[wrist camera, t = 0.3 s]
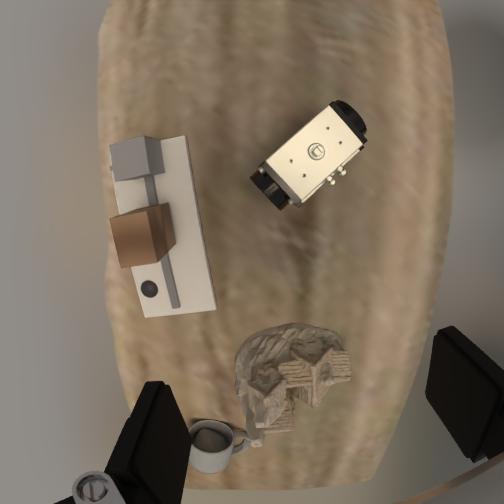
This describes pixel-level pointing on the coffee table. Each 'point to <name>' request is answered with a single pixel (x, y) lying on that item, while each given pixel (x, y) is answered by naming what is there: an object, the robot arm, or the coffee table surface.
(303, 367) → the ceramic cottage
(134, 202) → the board
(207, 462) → the ceramic mug
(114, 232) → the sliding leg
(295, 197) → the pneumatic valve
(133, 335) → the coffee table surface
